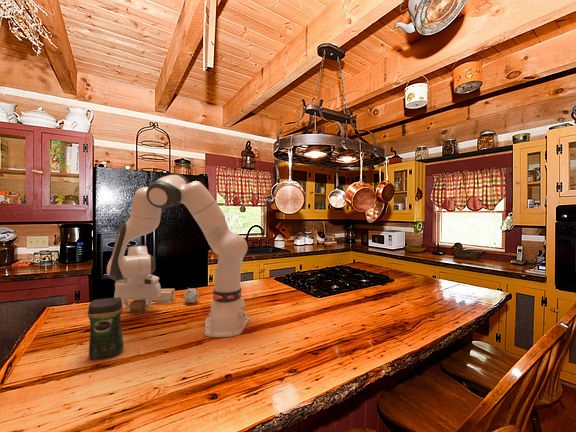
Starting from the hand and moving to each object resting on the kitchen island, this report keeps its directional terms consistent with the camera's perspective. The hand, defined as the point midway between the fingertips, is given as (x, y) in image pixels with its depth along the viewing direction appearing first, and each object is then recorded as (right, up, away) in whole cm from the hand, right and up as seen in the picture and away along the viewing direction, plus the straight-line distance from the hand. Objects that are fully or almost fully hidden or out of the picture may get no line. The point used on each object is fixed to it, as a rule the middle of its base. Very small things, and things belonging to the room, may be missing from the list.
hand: (138, 308), depth 128 cm
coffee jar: (+10, -3, -37) cm, 39 cm away
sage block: (-4, -1, +14) cm, 14 cm away
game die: (+21, -2, +12) cm, 24 cm away
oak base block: (+7, -2, +14) cm, 15 cm away
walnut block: (0, -2, 0) cm, 2 cm away
